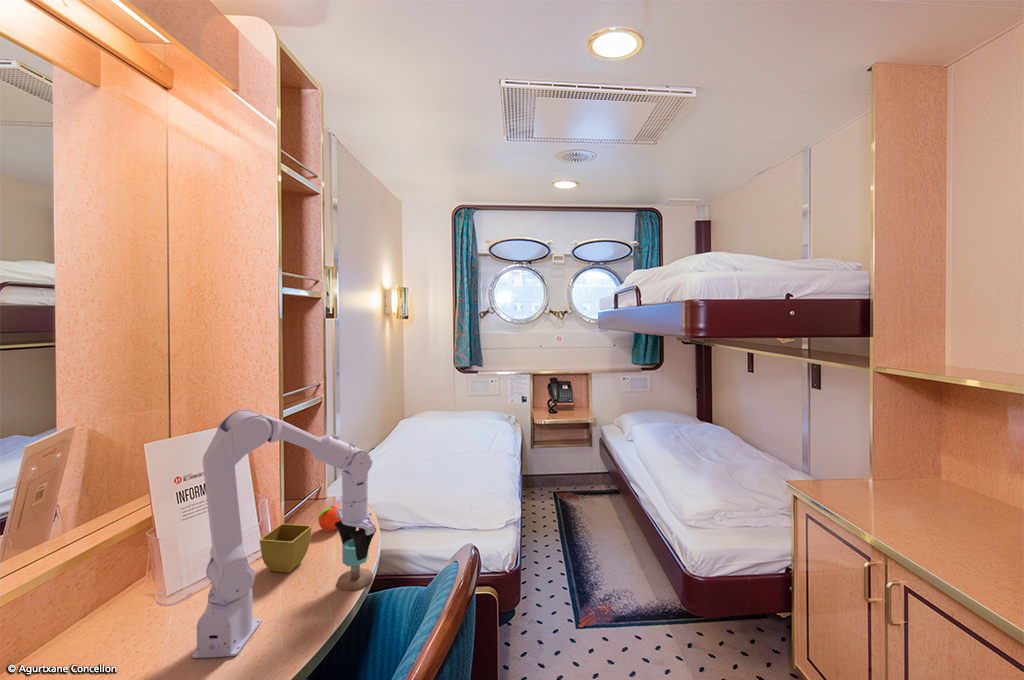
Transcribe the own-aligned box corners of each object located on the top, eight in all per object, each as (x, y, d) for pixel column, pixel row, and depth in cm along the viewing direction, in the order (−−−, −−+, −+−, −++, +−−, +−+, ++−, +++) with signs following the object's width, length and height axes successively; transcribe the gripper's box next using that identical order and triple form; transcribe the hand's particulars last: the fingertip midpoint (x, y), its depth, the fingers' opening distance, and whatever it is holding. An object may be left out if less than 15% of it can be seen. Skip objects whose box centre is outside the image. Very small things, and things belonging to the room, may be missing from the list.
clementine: (325, 539, 120) (325, 514, 120) (310, 533, 124) (310, 509, 124) (348, 527, 127) (348, 504, 127) (333, 522, 131) (333, 499, 131)
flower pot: (313, 558, 110) (312, 525, 110) (292, 578, 102) (292, 541, 101) (281, 556, 111) (281, 523, 111) (258, 576, 103) (258, 539, 102)
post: (368, 590, 97) (367, 568, 97) (332, 591, 97) (332, 570, 97) (376, 570, 105) (376, 550, 105) (343, 571, 105) (343, 551, 104)
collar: (363, 565, 98) (363, 548, 98) (340, 566, 98) (340, 549, 98) (369, 553, 104) (369, 537, 104) (347, 554, 103) (347, 538, 103)
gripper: (386, 501, 99) (387, 557, 99) (354, 485, 108) (355, 537, 109) (359, 511, 93) (359, 571, 94) (328, 494, 103) (328, 548, 103)
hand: (355, 554), depth 101 cm, fingers closed on collar, 5 cm apart
